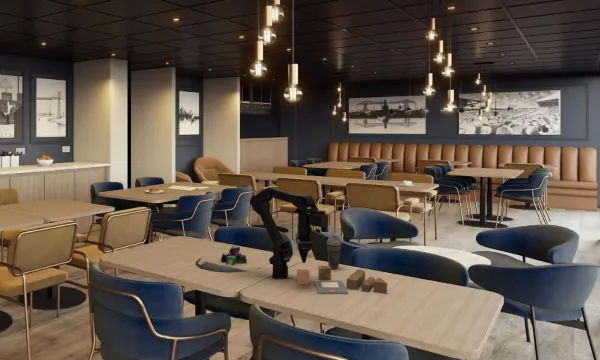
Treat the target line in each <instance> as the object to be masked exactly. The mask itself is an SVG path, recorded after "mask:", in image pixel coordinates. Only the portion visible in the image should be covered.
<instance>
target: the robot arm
mask: <svg viewBox="0 0 600 360" xmlns="http://www.w3.org/2000/svg"><path fill="white" fill-rule="evenodd" d="M273 198H274V199H278V200H281V201H285V202H286V203H290V204H291V205H293V207H295V208H296V209H295V210H294V211H293V213H294V214H297V226H296V228H297V231H296V232H297V233H296V234H295V242H296V245H297V246H296V247H297V250H298V253H299V256H300V259H301V261H302V264H306V262H307V258H308V254H309V252H310V251H311V250H312V249H313V247H314V243H313V241H312V240H314V241H317V242H319V243H322V242H323V239H324V237H325V234H324V233H323V232H321V229H320V228H326V227H327V226H328V223H329V217H328V215H327V213H326V212H327V211H325V210H319V208H318V206H317V204H316V202H315V200H314V198H313V196H312V195H311V194H303V193H295V192H290V191H287V190H283V189H281V188H277V187H275V186H271V187H270V186H268V187H266V188H265V189H264V190H263V191H260V192H259V193H257V194H256V195H252V196H251V197H250V200H249V204H250V206H251V208H252V210H253V211H254V212H255V213H256V214H257V215H259V217H260V220H261V222H262V223H263V225H264V227H265V230H266V232H267V235H268V237H269V239H270V241H271V244H272V254H273V255H271V257H270V258H268V262H269V264H270V265H272V273H271V278H272V279H288V276H289V265H288V263H290V261H291V259H292V257H293V254H294V252H293V250H294V248H293V247H292V246H291V245H292V244H291V243H290V241H289V240H287V241H286V240H284V239H283V237H282V235H281V232H280V230H279V228H278V226H277V223H276V222H275V219H274V217H273V214H272V213H271V204H270V202H271V201H272V200H273ZM312 226H313V227H319V228H316V229H313V228H312Z"/></svg>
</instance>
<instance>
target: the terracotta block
mask: <svg viewBox="0 0 600 360" xmlns="http://www.w3.org/2000/svg"><path fill="white" fill-rule="evenodd" d="M296 282H297V284H298V285H310V269H309V268H308V269H306V268H305V269H304V268H303V269H302V268H299V269H296Z"/></svg>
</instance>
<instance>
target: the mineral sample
mask: <svg viewBox="0 0 600 360" xmlns="http://www.w3.org/2000/svg"><path fill="white" fill-rule="evenodd" d="M240 249H241V247H240V246H235V245H232V246H231V247H230V249H229V251H228V253H226V252H223V253H222V255H221V258H220V261H221V262H222V263H227V264H228V266H226V265H223V264H217V263H213V262H211V261H210V262H209V261H205V260H202V258H199V259H197V260H196V261H195V265H196V266H197V267H199V268H200V269H202V270H203V269H204V270H208V271H212V272H213V271H214V272H223V273H236V272H237V273H238V272H239V273H240V272H247V271H248V270H245V269H242V268H238V267H232V265H237V264H248V263H247V261H248V260H247V255H246V254H242V252H240ZM201 260H202V263H201V264H200V261H201ZM260 268H262V267H260V266H259V267H258V268H257V270H258V269H259V270H260Z"/></svg>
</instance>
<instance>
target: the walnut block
mask: <svg viewBox="0 0 600 360" xmlns="http://www.w3.org/2000/svg"><path fill="white" fill-rule="evenodd" d="M317 273H318V276H317V277H318V281H332V269H331V268H330V266H329V265H318V272H317Z"/></svg>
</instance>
